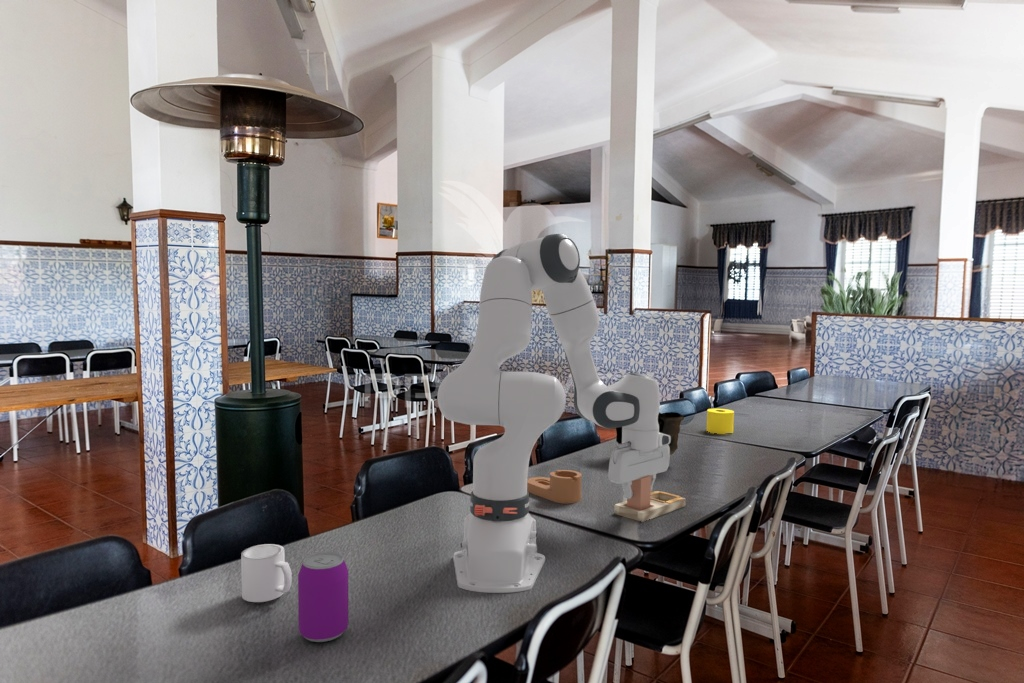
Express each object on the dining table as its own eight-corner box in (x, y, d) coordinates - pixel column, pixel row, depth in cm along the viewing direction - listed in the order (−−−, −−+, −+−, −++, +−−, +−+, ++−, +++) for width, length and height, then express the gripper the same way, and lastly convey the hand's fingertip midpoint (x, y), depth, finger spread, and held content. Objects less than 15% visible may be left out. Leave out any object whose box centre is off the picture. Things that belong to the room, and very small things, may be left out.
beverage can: (288, 638, 106) (287, 564, 105) (318, 616, 113) (318, 546, 112) (329, 648, 103) (328, 572, 102) (358, 625, 110) (357, 553, 109)
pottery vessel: (688, 467, 214) (691, 405, 212) (671, 473, 206) (673, 409, 204) (622, 453, 231) (624, 395, 229) (603, 459, 223) (605, 399, 221)
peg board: (642, 523, 161) (642, 512, 161) (614, 514, 167) (614, 503, 167) (685, 508, 173) (685, 497, 173) (657, 500, 179) (657, 490, 179)
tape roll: (734, 433, 266) (735, 410, 266) (731, 438, 257) (732, 414, 257) (708, 431, 271) (709, 407, 270) (704, 435, 261) (705, 411, 261)
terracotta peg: (639, 519, 164) (641, 478, 163) (626, 515, 167) (627, 475, 166) (649, 515, 167) (651, 476, 166) (636, 511, 170) (637, 472, 169)
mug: (304, 590, 123) (303, 549, 122) (276, 607, 116) (276, 564, 115) (261, 581, 126) (261, 541, 126) (232, 597, 119) (231, 555, 119)
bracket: (587, 500, 179) (588, 475, 178) (564, 506, 173) (564, 480, 173) (542, 484, 193) (543, 461, 192) (520, 489, 188) (520, 465, 187)
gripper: (623, 447, 156) (622, 506, 157) (674, 435, 170) (673, 489, 171) (602, 442, 161) (601, 500, 162) (654, 431, 175) (652, 484, 176)
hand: (638, 494), depth 166 cm, fingers open, 6 cm apart
